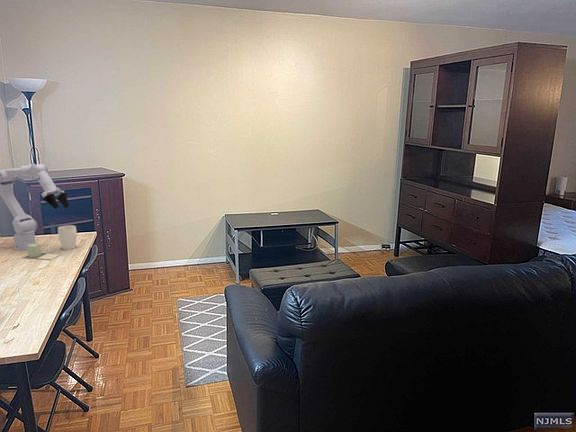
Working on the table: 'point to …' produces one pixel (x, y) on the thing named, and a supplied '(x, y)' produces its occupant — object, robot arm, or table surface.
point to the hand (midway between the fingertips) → (62, 207)
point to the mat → (44, 256)
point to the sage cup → (34, 250)
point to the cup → (67, 236)
